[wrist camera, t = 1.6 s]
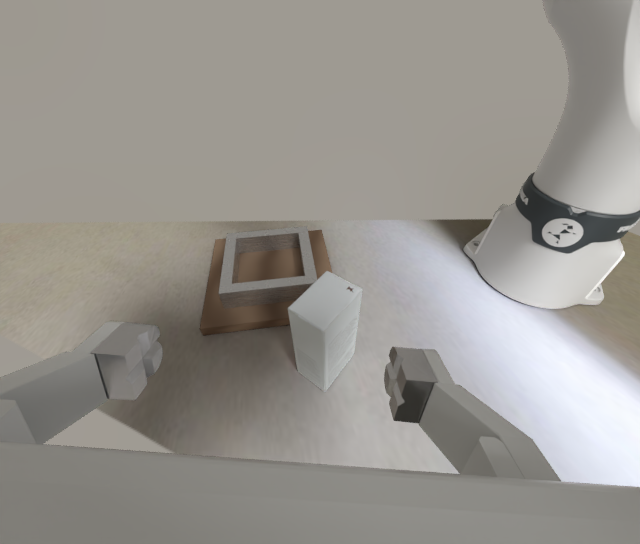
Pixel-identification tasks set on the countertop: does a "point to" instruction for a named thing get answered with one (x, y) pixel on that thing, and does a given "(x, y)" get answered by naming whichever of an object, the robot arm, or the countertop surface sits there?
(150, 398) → the countertop surface
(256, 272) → the socket board
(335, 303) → the skincare box
